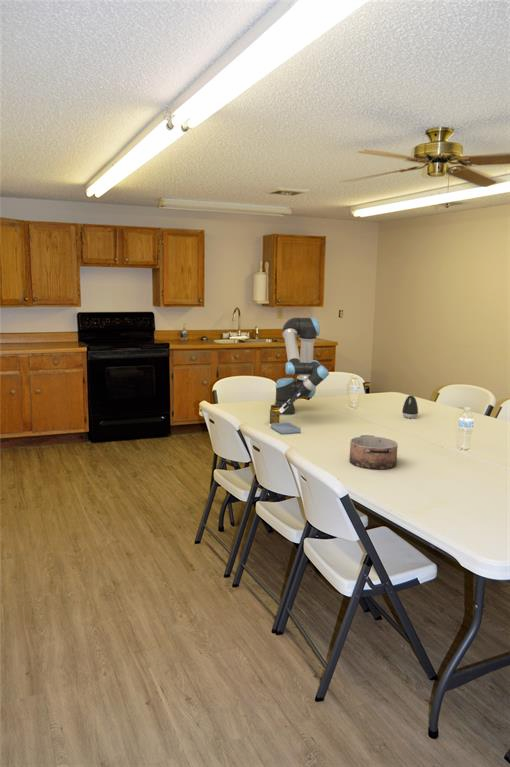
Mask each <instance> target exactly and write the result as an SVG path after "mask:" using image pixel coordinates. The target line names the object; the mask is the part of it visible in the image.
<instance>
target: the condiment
mask: <svg viewBox="0 0 510 767" xmlns="http://www.w3.org/2000/svg"><path fill="white" fill-rule="evenodd" d="M280 415H281V414H280V411H279V405H274V404H271V405H270V409H269V423H270V424H272V423H280V417H281V416H280Z"/></svg>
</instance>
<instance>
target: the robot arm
mask: <svg viewBox="0 0 510 767" xmlns="http://www.w3.org/2000/svg"><path fill="white" fill-rule="evenodd" d="M281 333H282V334H281V335H282V338H283V339H284V343H285V350H286V356H287V362H286V363H285V374H286V375H291V376H297V377H296V379H294V378H293V377H283V378H279V379H277V380H276V382H275V383H276V384H275V402H274V404H273V405H279V411H280V415H281V414H290V415H293V414H292V413H294V414H296V408H295V404H294V403H295V402H296V401H297V400H299V399H300V398H306V399H308V398H313V397H314V396H315V394H316V391H317V386H319V384H321V383H322V382H323V381H324V380H326V378H327V377H328V376H329V374H330V372H329V370H328V369H327V368H326V367H325V366H324V365H322V364H321V363H320V362H319V361H318V360H314V346H315V345H314V344H315V341H316V339H317V336H320V323H319V321H318V319H317V318H315V317H292V318H289V319H288V320H287V321H285V323H284V324H283V327H282V329H281ZM297 336H298V339H299V340H300V352H299V345H298V339H297Z"/></svg>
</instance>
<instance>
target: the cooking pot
mask: <svg viewBox="0 0 510 767" xmlns="http://www.w3.org/2000/svg"><path fill="white" fill-rule="evenodd" d="M349 444H350V445H349V463H350V464H351V465H353V466H355V467H357V468H360V469H366V470H371V471H372V470H373V471H374V470H375V471H381V470H382V471H384V470H391V469H393V468H395V467H396V466H397V461H398V457H397V456H398V445H399V444H398V442H397V441H396V440H394V439H391V438H386V437H382V436H375V435H365V434H364V435H360V436H355V437H353V438H351V439H350V443H349Z"/></svg>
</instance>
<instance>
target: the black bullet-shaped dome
mask: <svg viewBox="0 0 510 767" xmlns="http://www.w3.org/2000/svg"><path fill="white" fill-rule="evenodd" d="M401 412H402V416H403V417H404V418H405V417H407V418H406V419H408V418H413V419H415V418H417V416H418V414H419V407H418V402H417V399H416V398H415V396H414V395H408V396H407V397H406V398H405V401H404V404H403V406H402V411H401Z"/></svg>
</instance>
